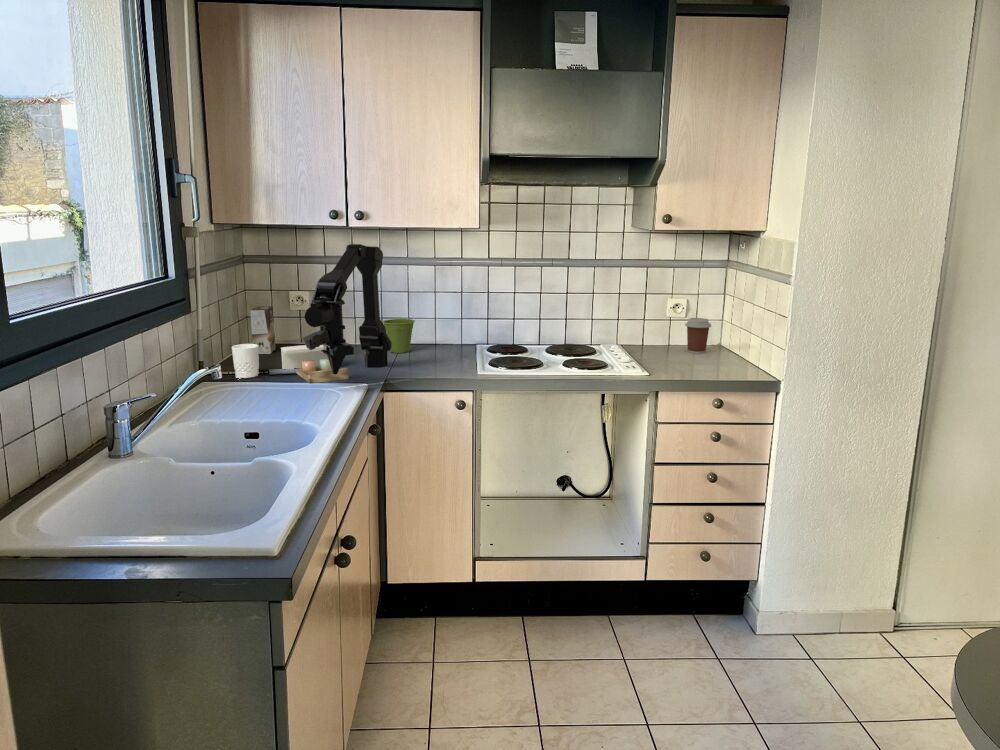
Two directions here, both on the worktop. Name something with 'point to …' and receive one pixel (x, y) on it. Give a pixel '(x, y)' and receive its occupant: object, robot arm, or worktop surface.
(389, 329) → the plant pot
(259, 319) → the coffee box
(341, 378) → the tray
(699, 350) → the coffee cup
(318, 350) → the shelf
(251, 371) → the white cup
